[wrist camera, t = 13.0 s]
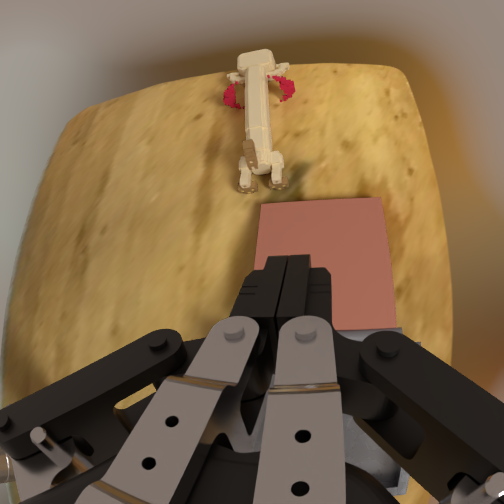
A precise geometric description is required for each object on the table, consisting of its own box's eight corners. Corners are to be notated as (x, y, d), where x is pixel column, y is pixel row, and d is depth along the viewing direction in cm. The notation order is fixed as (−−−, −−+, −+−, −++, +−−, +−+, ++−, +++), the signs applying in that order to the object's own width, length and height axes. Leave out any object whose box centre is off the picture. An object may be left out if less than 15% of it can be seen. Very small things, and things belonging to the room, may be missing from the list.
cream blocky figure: (308, 191, 36) (290, 55, 42) (299, 153, 28) (278, 14, 34) (228, 201, 39) (230, 66, 45) (199, 169, 30) (212, 29, 37)
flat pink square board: (402, 339, 23) (385, 197, 31) (240, 340, 27) (256, 204, 34) (398, 344, 24) (383, 208, 32) (245, 346, 28) (260, 214, 36)
